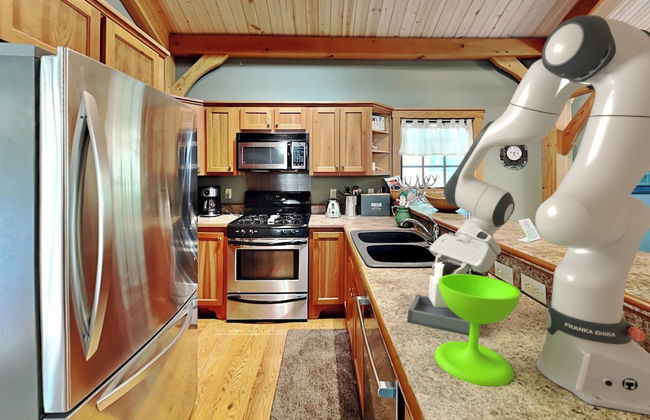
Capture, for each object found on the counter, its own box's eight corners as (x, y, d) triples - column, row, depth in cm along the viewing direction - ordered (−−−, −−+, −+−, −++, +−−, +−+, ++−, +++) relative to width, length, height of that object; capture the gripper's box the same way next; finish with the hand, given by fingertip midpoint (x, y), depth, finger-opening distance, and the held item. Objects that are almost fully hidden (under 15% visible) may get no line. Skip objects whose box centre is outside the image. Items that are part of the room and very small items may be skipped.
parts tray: (477, 316, 92) (478, 305, 92) (477, 337, 80) (478, 324, 80) (416, 304, 100) (416, 294, 100) (407, 322, 88) (408, 310, 88)
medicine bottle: (452, 299, 93) (454, 260, 92) (460, 309, 86) (463, 267, 85) (428, 297, 94) (430, 259, 93) (434, 307, 87) (436, 266, 86)
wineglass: (481, 341, 78) (486, 273, 76) (532, 382, 62) (540, 297, 60) (422, 345, 76) (425, 275, 74) (460, 390, 60) (465, 301, 58)
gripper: (441, 225, 100) (415, 256, 97) (496, 237, 81) (465, 277, 78) (451, 237, 102) (425, 269, 100) (507, 252, 83) (477, 291, 81)
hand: (443, 272), depth 89 cm, fingers closed on medicine bottle, 6 cm apart
